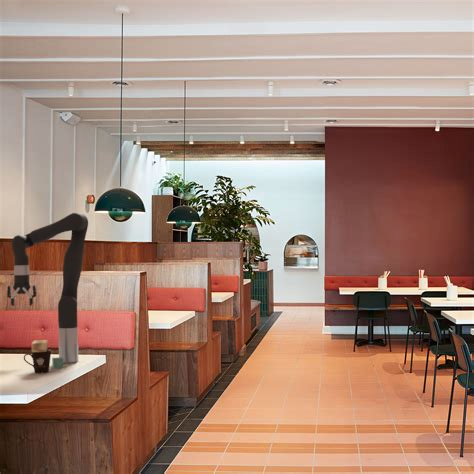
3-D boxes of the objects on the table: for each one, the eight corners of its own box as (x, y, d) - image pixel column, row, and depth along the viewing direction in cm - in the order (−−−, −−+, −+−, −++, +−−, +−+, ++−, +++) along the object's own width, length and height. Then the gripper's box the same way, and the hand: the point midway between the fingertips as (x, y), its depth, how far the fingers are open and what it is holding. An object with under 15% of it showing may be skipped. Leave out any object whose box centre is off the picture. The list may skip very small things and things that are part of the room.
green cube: (62, 366, 333) (61, 357, 333) (63, 368, 329) (63, 358, 329) (52, 367, 331) (52, 357, 331) (53, 368, 327) (53, 359, 327)
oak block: (47, 348, 325) (47, 339, 325) (45, 351, 314) (45, 343, 314) (34, 348, 324) (34, 340, 324) (31, 352, 313) (31, 343, 313)
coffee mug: (55, 370, 321) (54, 349, 321) (44, 374, 312) (43, 352, 313) (33, 369, 324) (33, 348, 324) (22, 373, 316) (22, 351, 316)
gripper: (37, 273, 357) (37, 304, 356) (8, 274, 355) (9, 305, 355) (34, 274, 349) (35, 306, 349) (5, 274, 348) (6, 306, 347)
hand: (22, 305), depth 352 cm, fingers open, 8 cm apart
